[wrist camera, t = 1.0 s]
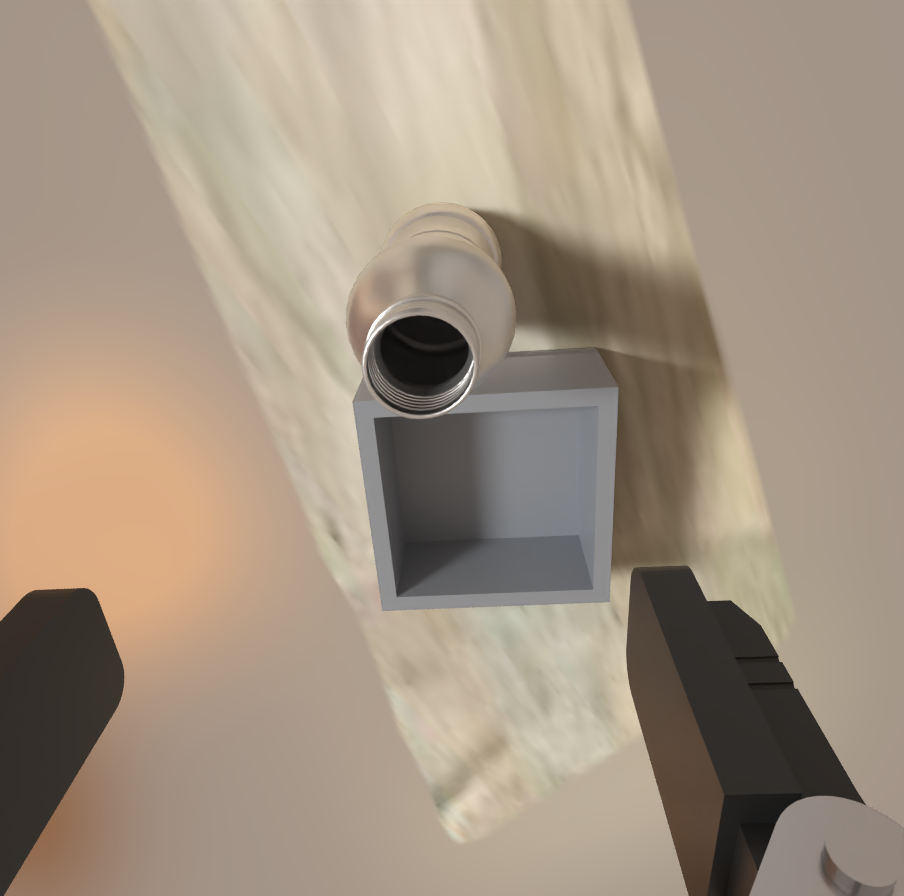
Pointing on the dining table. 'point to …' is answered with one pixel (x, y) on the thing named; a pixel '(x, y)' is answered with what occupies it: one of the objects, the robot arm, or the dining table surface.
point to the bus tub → (497, 488)
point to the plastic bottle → (431, 312)
